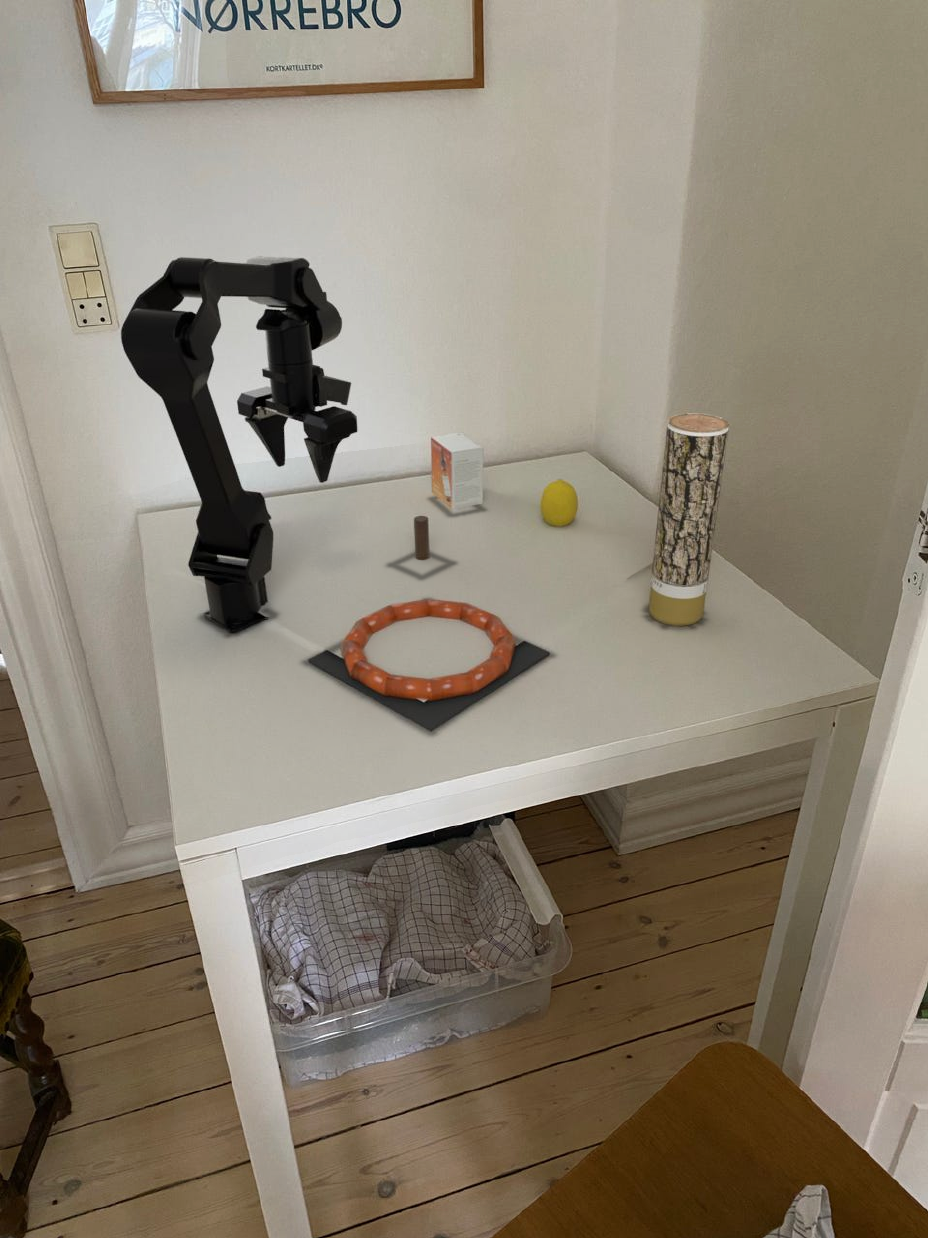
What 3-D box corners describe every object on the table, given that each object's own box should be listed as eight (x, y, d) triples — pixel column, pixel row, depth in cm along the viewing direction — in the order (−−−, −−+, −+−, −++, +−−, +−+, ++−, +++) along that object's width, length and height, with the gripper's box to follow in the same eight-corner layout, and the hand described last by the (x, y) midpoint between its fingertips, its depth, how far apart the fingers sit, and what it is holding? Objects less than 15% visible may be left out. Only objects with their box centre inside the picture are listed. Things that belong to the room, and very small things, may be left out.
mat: (430, 731, 96) (430, 728, 95) (308, 662, 107) (308, 659, 107) (549, 654, 108) (549, 652, 108) (428, 600, 120) (428, 597, 120)
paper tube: (662, 632, 113) (684, 434, 100) (638, 606, 118) (657, 416, 106) (712, 624, 114) (740, 428, 102) (687, 598, 120) (710, 410, 107)
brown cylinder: (422, 578, 126) (421, 531, 122) (392, 565, 129) (389, 519, 126) (452, 563, 129) (452, 517, 126) (422, 551, 133) (420, 506, 129)
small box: (431, 498, 150) (429, 436, 145) (462, 492, 152) (461, 431, 147) (451, 516, 144) (450, 451, 138) (483, 510, 146) (484, 446, 140)
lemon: (576, 522, 141) (579, 473, 137) (576, 537, 136) (579, 486, 132) (540, 521, 142) (541, 472, 138) (539, 536, 137) (540, 485, 133)
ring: (430, 726, 96) (429, 708, 94) (308, 658, 107) (306, 641, 106) (548, 651, 108) (548, 634, 107) (428, 597, 120) (427, 581, 119)
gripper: (385, 359, 119) (390, 473, 127) (294, 337, 130) (304, 444, 138) (318, 377, 112) (328, 497, 120) (228, 352, 123) (243, 463, 131)
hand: (301, 473), depth 127 cm, fingers open, 9 cm apart
